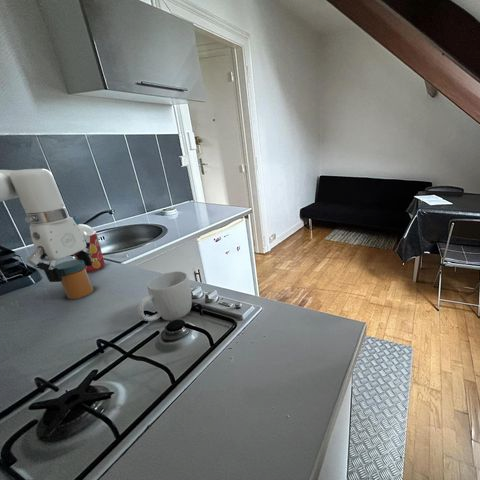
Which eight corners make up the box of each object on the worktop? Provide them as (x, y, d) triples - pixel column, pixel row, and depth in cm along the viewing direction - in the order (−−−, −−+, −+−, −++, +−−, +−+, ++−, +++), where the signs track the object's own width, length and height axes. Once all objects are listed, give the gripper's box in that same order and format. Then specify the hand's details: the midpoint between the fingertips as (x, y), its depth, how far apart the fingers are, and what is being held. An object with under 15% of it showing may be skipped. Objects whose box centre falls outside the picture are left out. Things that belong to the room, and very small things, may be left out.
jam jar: (63, 298, 77) (50, 270, 74) (85, 288, 82) (74, 261, 79) (76, 301, 75) (64, 272, 72) (98, 290, 80) (88, 263, 77)
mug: (182, 300, 74) (173, 268, 70) (202, 308, 70) (195, 275, 66) (134, 326, 64) (121, 291, 60) (155, 338, 59) (143, 301, 56)
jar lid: (91, 264, 79) (89, 258, 78) (72, 274, 73) (69, 268, 72) (69, 264, 79) (67, 259, 78) (48, 275, 73) (45, 269, 72)
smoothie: (106, 262, 100) (88, 212, 93) (110, 269, 95) (91, 216, 88) (78, 270, 95) (56, 217, 88) (80, 277, 89) (57, 221, 82)
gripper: (27, 225, 62) (56, 288, 68) (89, 208, 78) (108, 260, 84) (-3, 226, 62) (28, 288, 68) (65, 209, 78) (85, 260, 84)
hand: (72, 273), depth 76 cm, fingers open, 9 cm apart
